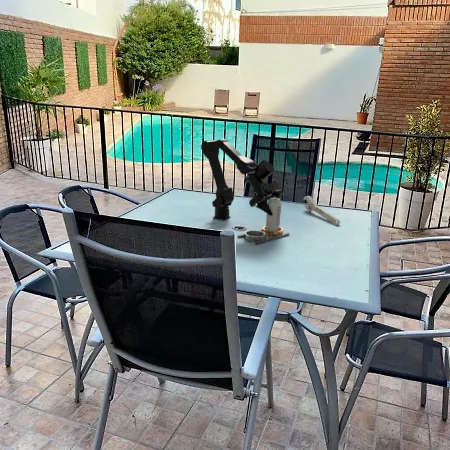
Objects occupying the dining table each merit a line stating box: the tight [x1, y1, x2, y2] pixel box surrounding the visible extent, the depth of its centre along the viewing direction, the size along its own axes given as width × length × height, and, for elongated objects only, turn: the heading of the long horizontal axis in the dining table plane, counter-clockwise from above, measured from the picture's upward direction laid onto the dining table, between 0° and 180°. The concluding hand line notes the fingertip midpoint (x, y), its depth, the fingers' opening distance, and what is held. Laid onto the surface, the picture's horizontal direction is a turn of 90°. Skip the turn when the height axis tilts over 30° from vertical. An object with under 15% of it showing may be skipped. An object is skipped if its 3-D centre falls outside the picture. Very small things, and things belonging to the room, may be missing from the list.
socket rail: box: [237, 225, 290, 246], centre depth 189 cm, size 21×12×2 cm, turn 132°
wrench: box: [303, 195, 341, 226], centre depth 221 cm, size 8×2×30 cm
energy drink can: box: [265, 198, 282, 231], centre depth 191 cm, size 6×6×15 cm
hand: (276, 214), depth 189 cm, fingers closed on energy drink can, 6 cm apart
